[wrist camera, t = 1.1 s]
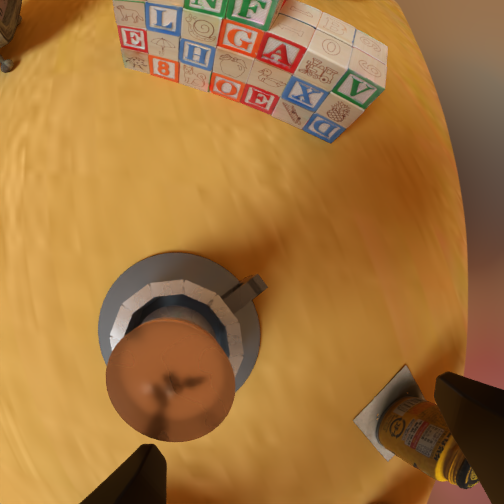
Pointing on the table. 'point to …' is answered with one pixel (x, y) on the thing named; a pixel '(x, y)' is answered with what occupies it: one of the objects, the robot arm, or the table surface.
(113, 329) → the carafe
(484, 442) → the robot arm
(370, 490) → the table surface
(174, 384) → the plunger
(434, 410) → the condiment
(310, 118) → the stack of blocks
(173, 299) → the coaster
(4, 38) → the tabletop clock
